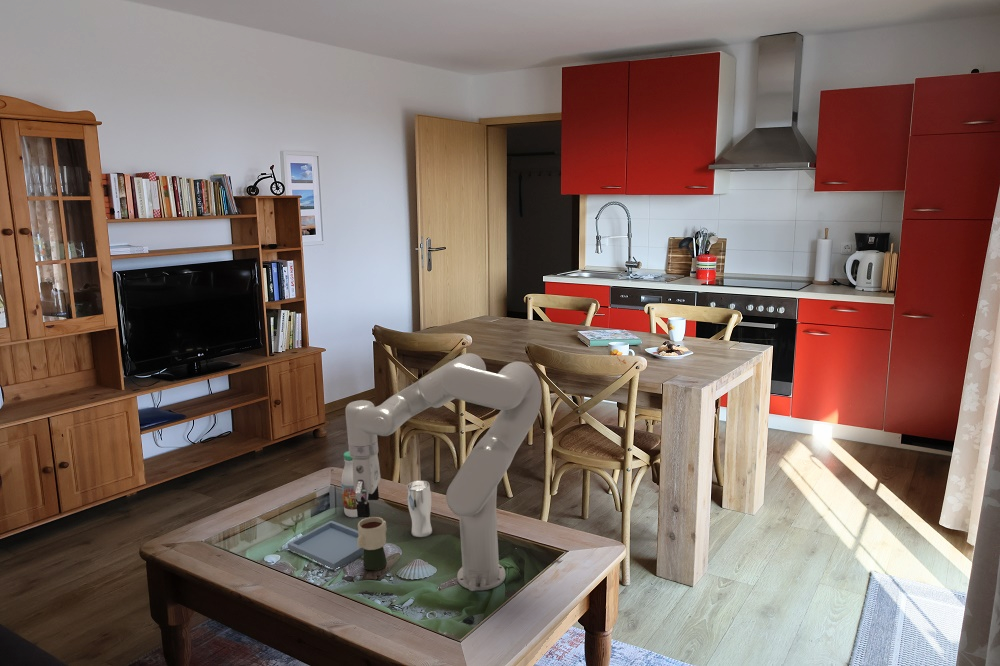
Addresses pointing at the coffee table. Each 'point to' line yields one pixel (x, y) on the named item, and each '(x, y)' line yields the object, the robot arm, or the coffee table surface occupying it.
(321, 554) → the tray
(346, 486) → the milk bottle
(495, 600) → the coffee table surface
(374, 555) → the character mug
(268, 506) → the coffee table surface
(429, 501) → the beer glass
